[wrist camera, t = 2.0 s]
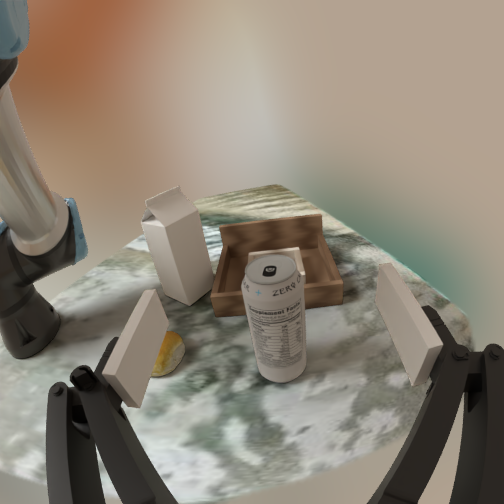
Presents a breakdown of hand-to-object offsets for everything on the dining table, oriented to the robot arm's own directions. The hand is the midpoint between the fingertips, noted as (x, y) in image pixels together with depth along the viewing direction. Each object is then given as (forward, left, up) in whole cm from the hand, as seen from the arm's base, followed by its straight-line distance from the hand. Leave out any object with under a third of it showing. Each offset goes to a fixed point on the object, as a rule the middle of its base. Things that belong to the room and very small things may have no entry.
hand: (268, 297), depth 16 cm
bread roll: (-18, +13, -19) cm, 29 cm away
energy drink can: (0, +10, -19) cm, 22 cm away
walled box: (0, +30, -19) cm, 35 cm away
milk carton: (-16, +29, -19) cm, 38 cm away
